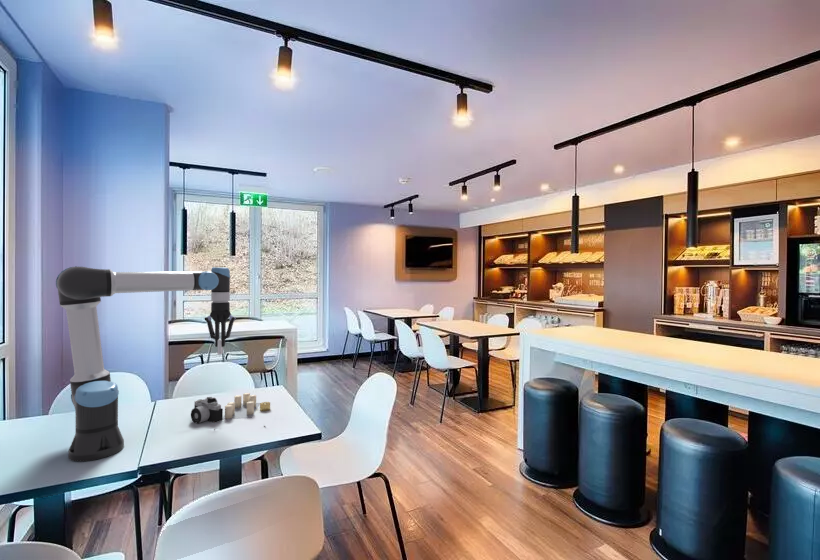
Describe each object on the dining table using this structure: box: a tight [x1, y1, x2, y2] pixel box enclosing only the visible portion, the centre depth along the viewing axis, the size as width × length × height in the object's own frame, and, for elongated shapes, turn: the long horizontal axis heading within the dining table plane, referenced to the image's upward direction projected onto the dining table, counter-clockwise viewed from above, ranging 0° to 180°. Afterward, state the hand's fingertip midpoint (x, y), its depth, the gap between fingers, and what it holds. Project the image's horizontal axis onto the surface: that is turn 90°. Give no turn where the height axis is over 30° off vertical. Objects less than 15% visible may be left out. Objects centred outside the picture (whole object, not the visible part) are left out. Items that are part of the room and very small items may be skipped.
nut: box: [259, 401, 271, 412], centre depth 180 cm, size 4×4×3 cm
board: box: [223, 392, 261, 420], centre depth 179 cm, size 20×12×6 cm, turn 10°
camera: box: [190, 396, 224, 424], centre depth 167 cm, size 16×9×10 cm, turn 63°
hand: (220, 353), depth 178 cm, fingers closed
